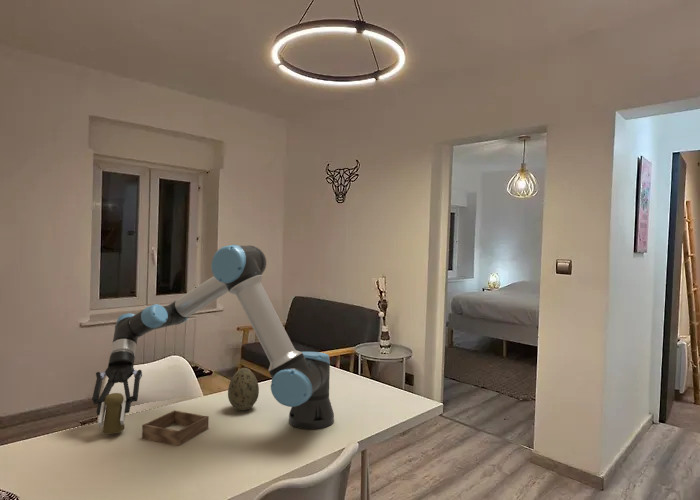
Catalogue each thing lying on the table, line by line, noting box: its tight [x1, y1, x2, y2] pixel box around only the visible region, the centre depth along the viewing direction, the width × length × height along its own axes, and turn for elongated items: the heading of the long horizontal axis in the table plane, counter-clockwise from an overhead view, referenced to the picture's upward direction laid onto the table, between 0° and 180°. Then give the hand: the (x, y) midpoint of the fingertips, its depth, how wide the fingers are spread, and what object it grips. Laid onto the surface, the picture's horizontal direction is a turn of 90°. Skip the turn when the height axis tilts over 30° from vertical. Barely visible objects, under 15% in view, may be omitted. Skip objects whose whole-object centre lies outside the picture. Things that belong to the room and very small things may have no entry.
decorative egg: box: [227, 367, 260, 411], centre depth 164 cm, size 11×11×15 cm
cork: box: [102, 392, 126, 435], centre depth 140 cm, size 6×6×11 cm
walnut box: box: [141, 409, 209, 447], centre depth 142 cm, size 14×14×4 cm
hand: (111, 423), depth 137 cm, fingers closed on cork, 5 cm apart
